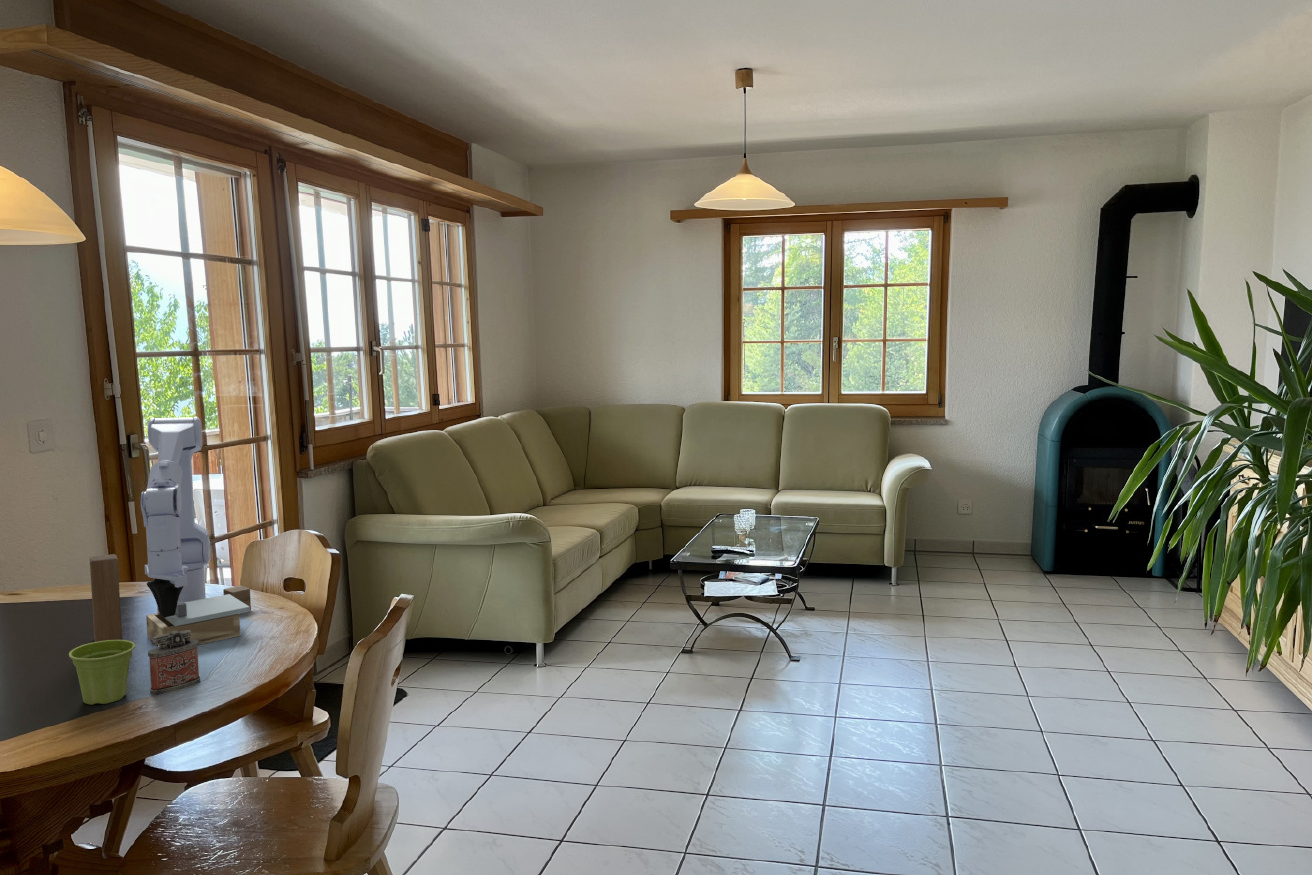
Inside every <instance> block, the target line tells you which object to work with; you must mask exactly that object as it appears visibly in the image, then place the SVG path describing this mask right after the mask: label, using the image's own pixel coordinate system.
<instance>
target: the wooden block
mask: <svg viewBox="0 0 1312 875" xmlns="http://www.w3.org/2000/svg"><path fill="white" fill-rule="evenodd" d="M89 572H90V587H91V602H92V623H93V636H94V642H99V641H106V640H123V629H122V626H123V625H122V611H121V610H122V609H121V593H120V580H119V579H120V578H119V577H120V576H119V561H118V556H117V554H115V553H112V554H104V555H103V554H102V555H95V556H90V557H89Z"/></svg>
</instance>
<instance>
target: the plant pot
mask: <svg viewBox="0 0 1312 875" xmlns="http://www.w3.org/2000/svg"><path fill="white" fill-rule="evenodd" d="M135 648H136V643H134V642H133V641H131V640H127V639H122V640H106V641H99V642H95V641H94V642H93V641H92V642H89V643H86V644H82V645H80V646H77V647H75V648H72V649H71V650H70V651H69V653H68V656H69V657H68V658H70V659H71V660H72V664H73V665H74V667H75V670H76V674H77V678H78V683H79V687H80V692H81V696H82V701H83V703H84V704H87V705H91V706H93V705H95V704H101V705H106V704H107V705H108V704H110V703H114V702H117V701H119V700H122V699H123V697H124V696H126V695H127V688H128V678H129V670H130V669H129V668H130V661H131V657H132V655H133V654H132V653H133V651H134V649H135Z"/></svg>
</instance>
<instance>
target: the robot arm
mask: <svg viewBox="0 0 1312 875" xmlns="http://www.w3.org/2000/svg"><path fill="white" fill-rule="evenodd" d="M202 427H203V426H202V421H201V419H200V418H199V417H198V416H194V417H158V418H157V417H150V419H149V420H148V422H147V440H148V443H149V445H150V446H151V447H152V448H153V449H154V451H155V452H157V453H158V454H157V461H156V462H155V463H154V464H153V465H152V466H151V467H150V470H149V476H148V480H147V486H146V490H145V491H144V490H143V491H142V492H141V496H140V510H141V511H140V512H141V513H142V518H143V519H142V520H143V527H144V528H145V533H146V534H145V535H146V547H147V548H146V551H147V553H146V554H147V564H144V575H146V576H147V577H148V578H151V579H154V580H150V581H147V582H146V586H147V588H149V591H150V592H151V594H152V595H153V597H154V600H155V604H156V607H158V610H159V613H160V615H161V617H163V618H165V617H170V616H174V615H175V612H176V607H177V603H178V599H180V600H182V601H183V602H190V601H195V600H200V599H206V598H207V596H206V578H205V577H206V574H205V565H208V564H209V563H210V561H211V558H212V548H211V539H210V532H209V531H208V529H207V528H205V527H203V526H202V525H200V524H198V523H197V522H195V521H196V520H195V506H194V504H195V503H194V487H193V486H194V484H193V465H192V459H193V456H194V453H196V452H199V451H202V447H203V429H202Z"/></svg>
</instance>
